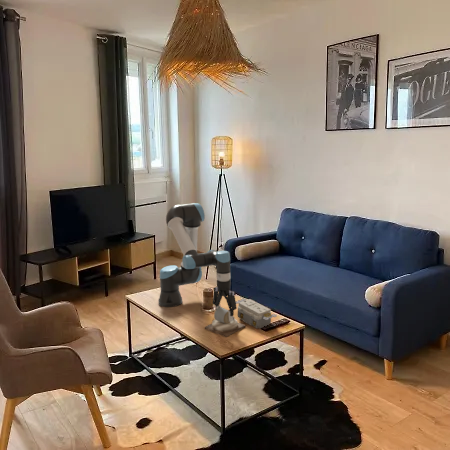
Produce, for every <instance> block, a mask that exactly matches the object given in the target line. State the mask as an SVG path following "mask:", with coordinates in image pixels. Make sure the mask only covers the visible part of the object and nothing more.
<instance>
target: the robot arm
mask: <svg viewBox="0 0 450 450" xmlns="http://www.w3.org/2000/svg"><path fill="white" fill-rule="evenodd" d="M205 216H206V215H205V211H204V208H203V206H202V205H201V203H197V202H196V203H195V202H192V203H185V204H175V205H173V206H171V208H169V209H168V211H167V214H166V216H165V221H166V226H167V228H168V229H169V230H171V232H172V234H173V236H174V238H175V240H176V242H177V245H178V247H179V248H180V250H181V253H182V254H183V256H182V259H181V260H182V261H181V262H180V266H179V267H178V266H177V265H167V266H164V267H163V268H161V269H159V270H160V271H159V283H160V284H159V285H160V287H159V289H160V293H159V297H158V305H159V306H160V307H165V308H169V307H170V308H173V307H177V306H179V305H181V304H182V303H183V297H182V294H181V292H180V287H181V286H185V285H186V286H187V285H191V284H193V285H194V284H196V283H199V282H200V281H201V279H202V275H203V272H202V270H203V268H204V267H211V266H215V267H216V272H215V273H216V286H215V287H213V296H212V305H214V306H215V310H216V309H217V308H219V307H221V301H222V298H223V297H224V299H225V301H226V304H227V307H228V309H227V310H228V314H229V322H231V321H233V316H234V312H235V310H238V306H237V304H236V296H235V295H236V292H235V291H233V290H231V286H232V282H231V281H232V280H231V253H230V251H227V250H219V251H218V250H215V249H210V250H208V251H206V252H201V253H199V252H198V237H199V235H198V234H199V227H201V226H202V224H201V223H203V222H204V221H205Z"/></svg>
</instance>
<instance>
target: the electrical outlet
mask: <svg viewBox="0 0 450 450" xmlns="http://www.w3.org/2000/svg"><path fill="white" fill-rule="evenodd" d="M235 301H236V300H235ZM237 304H238V306H237V318H238V319H240V320H241V321H243V322H244V323H246V324H247V325H249V326H252V327H254V328H255V329H262V328H265V327H267V325H268V326H269V324H271V321H272V318H276V317H278V316H277V314H276V313H275V314H274V313H273V314H272V312H271V311H272V309H270V307H269V308H268V307H267V306H264V305H263V304H260V303H258V302H257V301H255V300H253V299H250V298H249V299H245V298H241V299H240V300H238V299H237V301H236V305H237ZM264 326H265V327H264Z"/></svg>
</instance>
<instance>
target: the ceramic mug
mask: <svg viewBox="0 0 450 450" xmlns="http://www.w3.org/2000/svg"><path fill="white" fill-rule="evenodd" d="M228 310H229V309H226V308H224V307H219V308H217V309H216V308H215V311H214V314H213V317H214V319H215V320H217V321H220V322H222V323H225V324H228V323H230V322H229V314H228ZM234 318H235V316H234V315H233V320H234Z"/></svg>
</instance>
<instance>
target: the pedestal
mask: <svg viewBox="0 0 450 450" xmlns="http://www.w3.org/2000/svg"><path fill="white" fill-rule="evenodd" d="M203 328H204V330H206V331H208V332H211V333H214V334H216V335H220V336H223V337H226V338H227V337H229V336H231V335H233V334H235V333H237V332H239V331H240V330H242V329H244V328H246V324H243V323H240V322H239V321H238V320H237V319H236V318H235V317H234V320H233V321H231V322H230V323H228V324H225V323H222V322H220V321H217V320H215V318H214V319H213V320H212V321H211V323H210V324H207V325H206V326H204V327H203Z"/></svg>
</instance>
